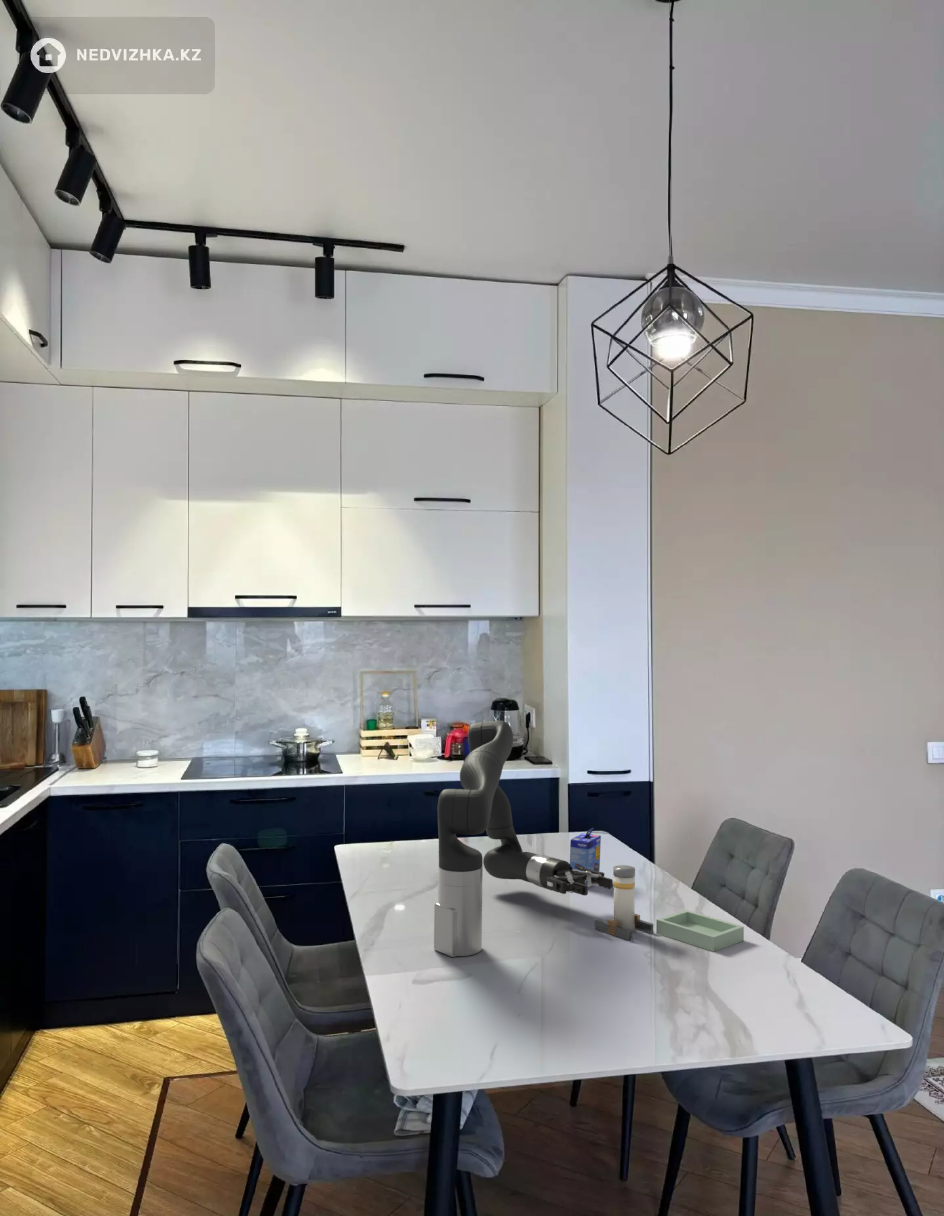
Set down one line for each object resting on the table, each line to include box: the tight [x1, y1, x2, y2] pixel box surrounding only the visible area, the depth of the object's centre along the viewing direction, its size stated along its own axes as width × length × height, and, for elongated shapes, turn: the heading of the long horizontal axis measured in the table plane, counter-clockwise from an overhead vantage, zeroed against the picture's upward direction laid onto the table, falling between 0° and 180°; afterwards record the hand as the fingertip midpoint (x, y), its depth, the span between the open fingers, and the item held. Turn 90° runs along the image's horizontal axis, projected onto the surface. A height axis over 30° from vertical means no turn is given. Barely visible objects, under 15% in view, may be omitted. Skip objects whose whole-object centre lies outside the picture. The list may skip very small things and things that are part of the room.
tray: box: [655, 909, 745, 953], centre depth 200 cm, size 11×15×3 cm
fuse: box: [612, 864, 636, 935], centre depth 204 cm, size 5×5×14 cm
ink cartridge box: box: [569, 827, 602, 884], centre depth 243 cm, size 10×6×14 cm, turn 152°
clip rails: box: [594, 912, 654, 941], centre depth 204 cm, size 8×10×3 cm
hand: (599, 887), depth 210 cm, fingers open, 8 cm apart
